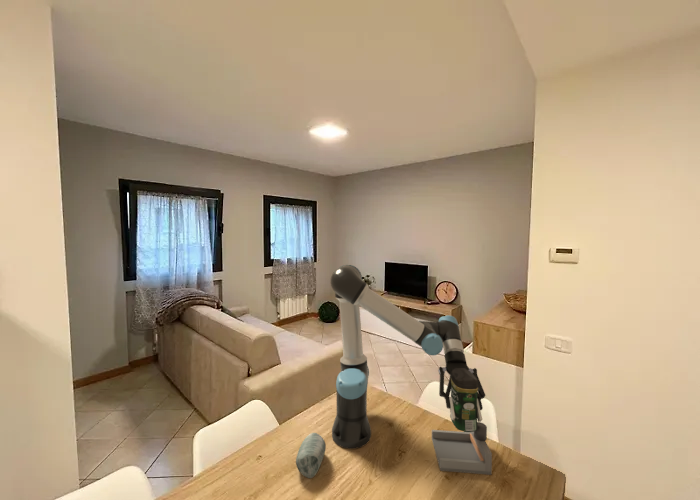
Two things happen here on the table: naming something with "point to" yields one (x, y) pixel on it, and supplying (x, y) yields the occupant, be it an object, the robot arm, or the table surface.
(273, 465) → the table surface
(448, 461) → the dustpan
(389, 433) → the table surface
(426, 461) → the table surface
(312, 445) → the spool
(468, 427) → the coffee jar
